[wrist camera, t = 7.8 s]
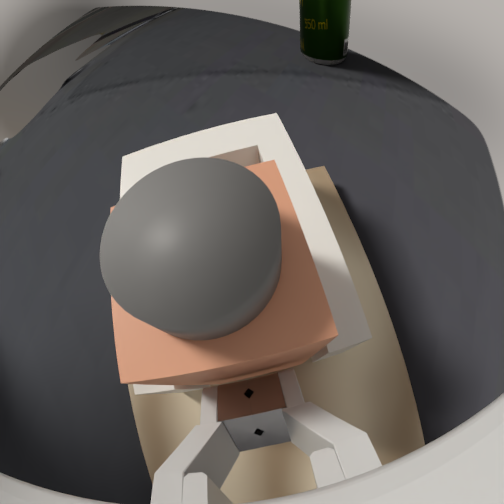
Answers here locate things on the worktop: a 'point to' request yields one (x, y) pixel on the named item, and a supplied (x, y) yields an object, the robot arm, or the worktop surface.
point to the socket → (304, 202)
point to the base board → (309, 389)
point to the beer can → (324, 30)
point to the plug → (211, 276)
